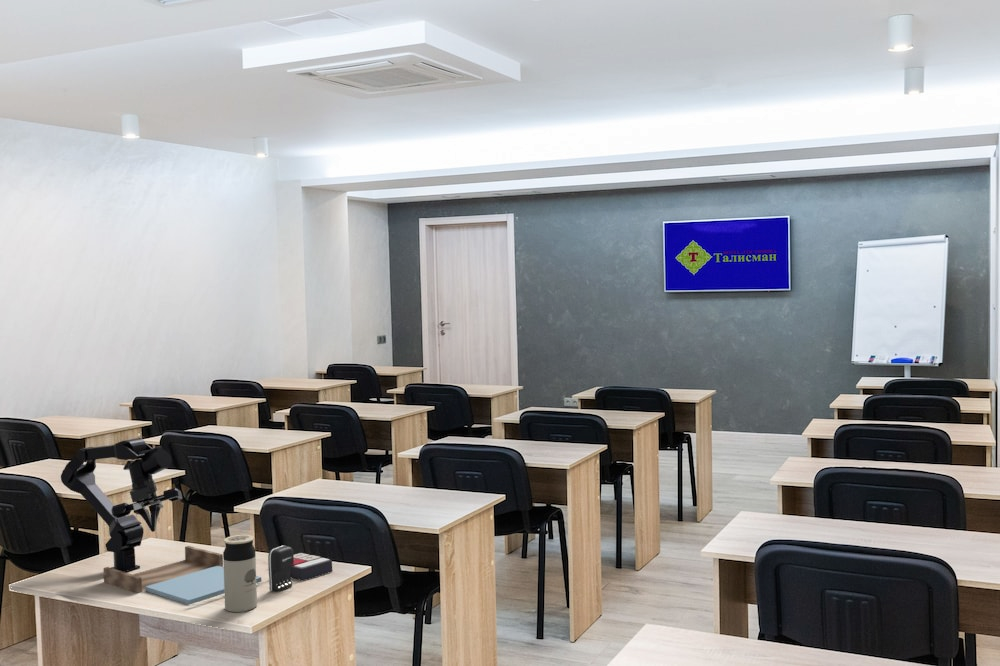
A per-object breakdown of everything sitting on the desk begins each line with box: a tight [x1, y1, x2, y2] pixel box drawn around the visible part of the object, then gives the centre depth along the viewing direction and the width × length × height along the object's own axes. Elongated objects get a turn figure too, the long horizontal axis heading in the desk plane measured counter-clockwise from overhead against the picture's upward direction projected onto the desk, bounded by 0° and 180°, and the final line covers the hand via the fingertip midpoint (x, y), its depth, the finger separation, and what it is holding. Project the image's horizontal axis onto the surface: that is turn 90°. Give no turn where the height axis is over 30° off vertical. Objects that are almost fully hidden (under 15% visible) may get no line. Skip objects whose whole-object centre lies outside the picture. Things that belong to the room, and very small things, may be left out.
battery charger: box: [267, 545, 295, 592], centre depth 247 cm, size 7×4×11 cm, turn 151°
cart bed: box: [103, 545, 224, 594], centre depth 259 cm, size 17×27×5 cm, turn 143°
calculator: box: [290, 552, 333, 581], centre depth 263 cm, size 11×4×15 cm
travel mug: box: [222, 534, 258, 613], centre depth 232 cm, size 8×8×18 cm
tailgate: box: [144, 566, 262, 606], centre depth 248 cm, size 1×23×20 cm
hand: (153, 531), depth 260 cm, fingers closed
